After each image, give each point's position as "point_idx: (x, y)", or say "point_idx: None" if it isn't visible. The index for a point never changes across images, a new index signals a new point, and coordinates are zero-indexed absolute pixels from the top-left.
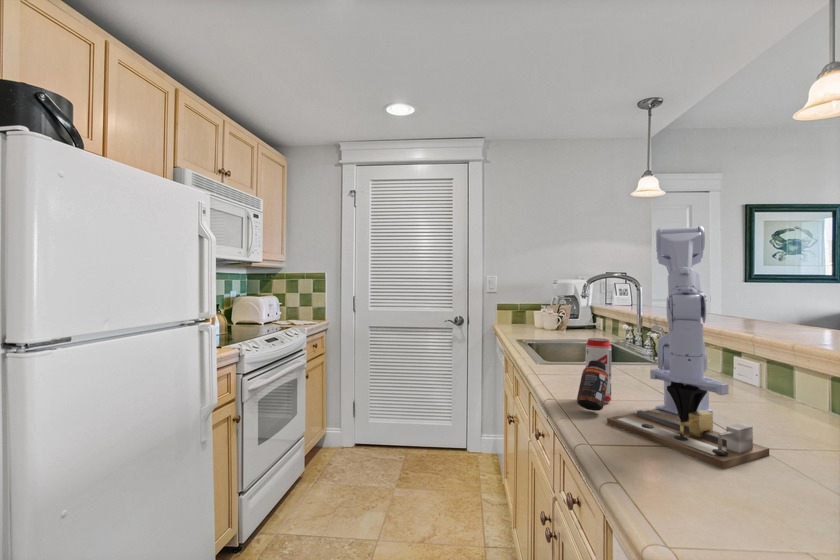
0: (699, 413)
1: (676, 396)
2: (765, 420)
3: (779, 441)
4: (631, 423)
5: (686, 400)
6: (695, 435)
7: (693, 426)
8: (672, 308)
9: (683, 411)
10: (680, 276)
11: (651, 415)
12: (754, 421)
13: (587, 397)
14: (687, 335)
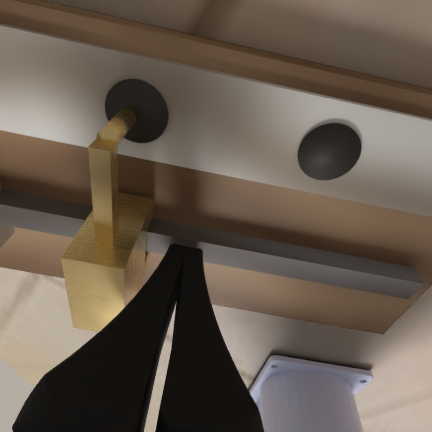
0: (94, 294)
1: (187, 362)
2: (152, 407)
3: (56, 335)
4: (419, 133)
5: (112, 339)
6: (126, 196)
7: (119, 219)
8: None
9: (167, 283)
10: None
11: (349, 272)
12: (160, 397)
13: None
14: None
